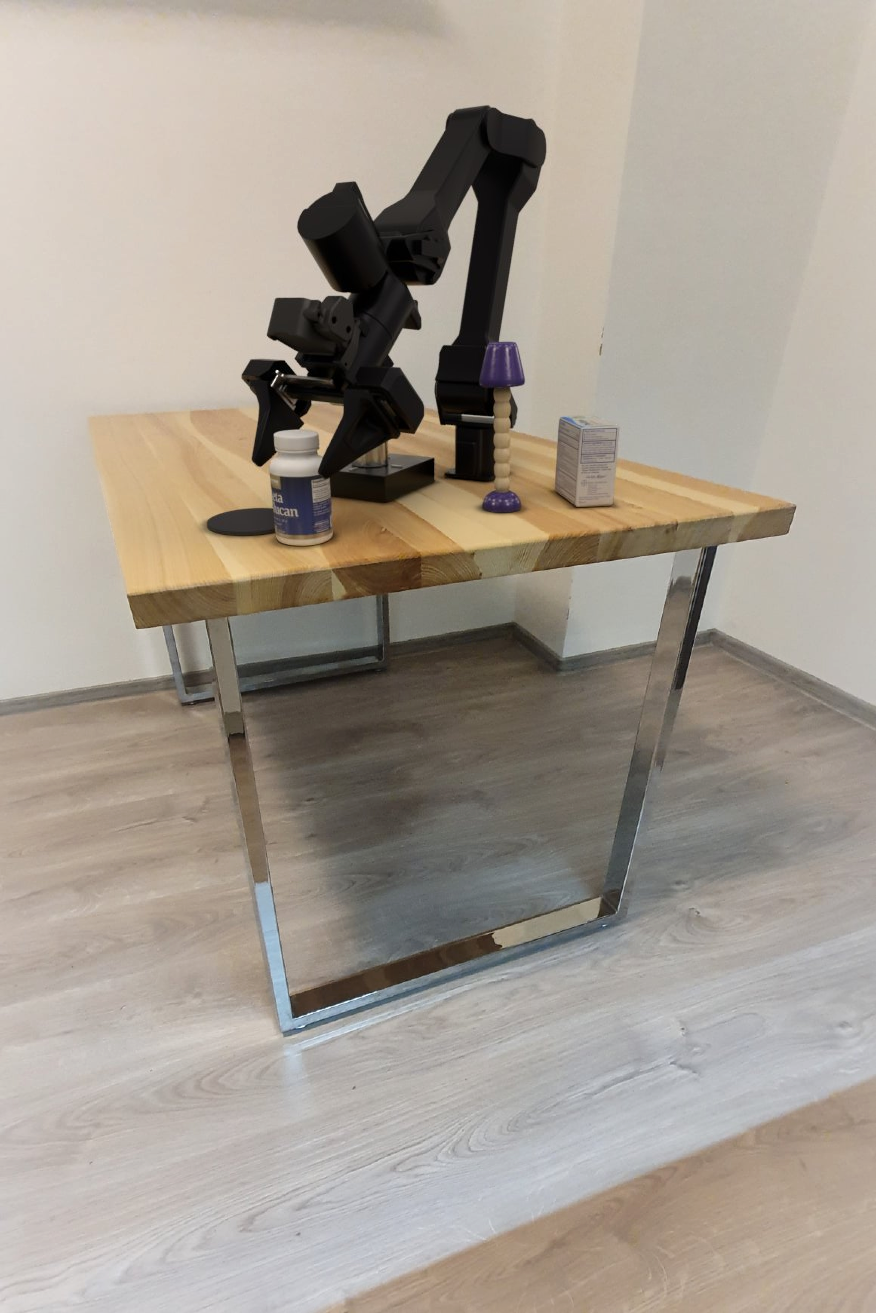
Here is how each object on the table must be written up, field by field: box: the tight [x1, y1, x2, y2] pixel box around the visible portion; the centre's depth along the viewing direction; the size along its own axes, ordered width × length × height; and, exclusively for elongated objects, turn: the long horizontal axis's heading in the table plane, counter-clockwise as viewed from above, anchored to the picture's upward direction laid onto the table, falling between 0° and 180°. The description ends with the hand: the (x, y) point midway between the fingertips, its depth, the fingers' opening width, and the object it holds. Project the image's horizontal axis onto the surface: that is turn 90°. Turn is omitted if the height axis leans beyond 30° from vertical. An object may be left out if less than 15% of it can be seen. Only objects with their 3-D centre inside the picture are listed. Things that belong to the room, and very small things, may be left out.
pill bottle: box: [268, 429, 334, 547], centre depth 67 cm, size 5×5×10 cm
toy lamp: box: [479, 341, 526, 513], centre depth 76 cm, size 5×5×17 cm
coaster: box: [206, 507, 276, 537], centre depth 74 cm, size 9×9×1 cm
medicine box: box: [554, 414, 620, 508], centre depth 81 cm, size 8×4×9 cm, turn 9°
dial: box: [352, 441, 389, 467], centre depth 85 cm, size 4×4×4 cm
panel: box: [330, 452, 436, 504], centre depth 87 cm, size 12×10×3 cm
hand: (287, 469), depth 65 cm, fingers open, 8 cm apart
